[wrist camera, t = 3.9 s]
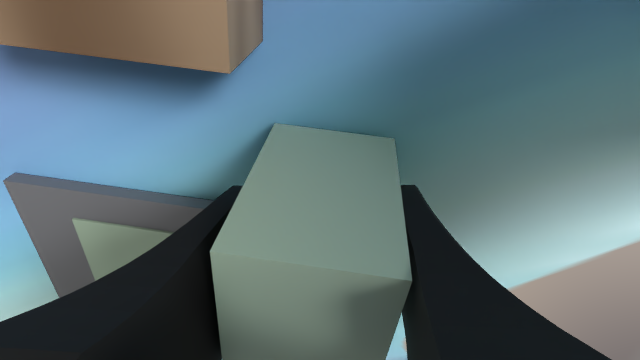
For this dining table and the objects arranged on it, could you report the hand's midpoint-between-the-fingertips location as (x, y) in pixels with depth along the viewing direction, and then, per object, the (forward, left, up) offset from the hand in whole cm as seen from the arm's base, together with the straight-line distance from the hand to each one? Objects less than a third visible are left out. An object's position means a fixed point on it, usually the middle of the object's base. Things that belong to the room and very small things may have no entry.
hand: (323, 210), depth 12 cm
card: (+8, +6, -2) cm, 10 cm away
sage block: (0, 0, -2) cm, 2 cm away
